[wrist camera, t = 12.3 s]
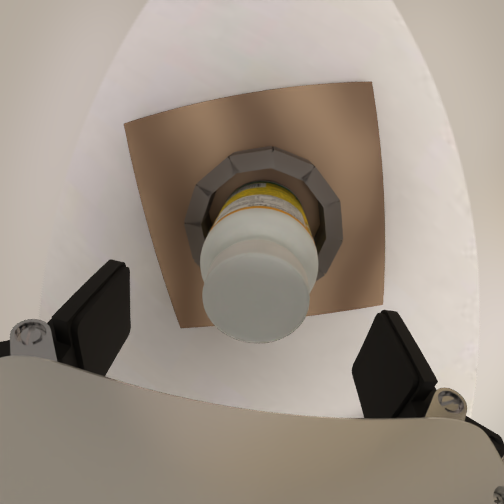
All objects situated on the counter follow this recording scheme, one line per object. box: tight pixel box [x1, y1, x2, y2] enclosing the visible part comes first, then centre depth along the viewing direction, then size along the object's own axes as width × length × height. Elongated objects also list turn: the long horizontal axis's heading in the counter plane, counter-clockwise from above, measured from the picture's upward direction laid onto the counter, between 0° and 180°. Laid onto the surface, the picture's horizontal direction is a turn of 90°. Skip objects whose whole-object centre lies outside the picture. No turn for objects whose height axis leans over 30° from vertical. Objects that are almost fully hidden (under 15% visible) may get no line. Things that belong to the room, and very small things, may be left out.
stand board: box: [124, 82, 385, 328], centre depth 19 cm, size 16×16×4 cm
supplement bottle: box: [200, 180, 318, 343], centre depth 16 cm, size 5×5×10 cm
